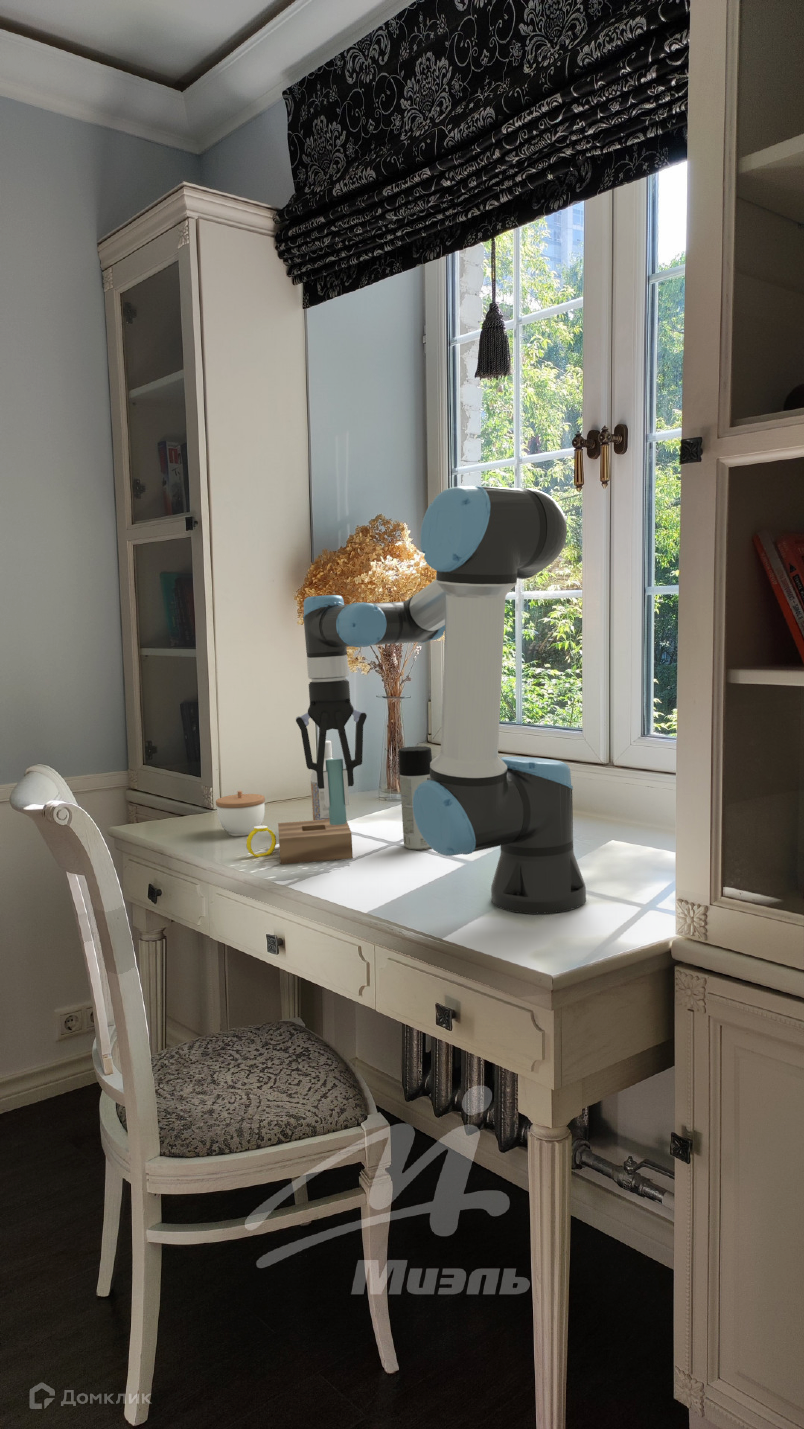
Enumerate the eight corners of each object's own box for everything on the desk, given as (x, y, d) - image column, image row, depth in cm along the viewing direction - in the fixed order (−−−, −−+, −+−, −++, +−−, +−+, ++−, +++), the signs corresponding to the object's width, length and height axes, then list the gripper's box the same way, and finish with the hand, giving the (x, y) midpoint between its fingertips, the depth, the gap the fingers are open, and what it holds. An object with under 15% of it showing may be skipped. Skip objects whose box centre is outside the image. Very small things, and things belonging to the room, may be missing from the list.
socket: (352, 858, 188) (351, 832, 188) (280, 864, 186) (278, 838, 186) (347, 841, 202) (345, 817, 201) (279, 846, 200) (278, 823, 200)
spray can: (433, 850, 191) (429, 750, 189) (400, 850, 192) (395, 751, 190) (439, 842, 197) (434, 745, 195) (406, 842, 199) (402, 746, 197)
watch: (271, 853, 197) (271, 824, 196) (278, 855, 194) (278, 826, 194) (244, 856, 193) (244, 827, 193) (251, 859, 191) (251, 829, 190)
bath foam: (321, 827, 216) (315, 739, 214) (350, 828, 214) (345, 739, 211) (308, 835, 209) (303, 743, 207) (338, 836, 207) (333, 743, 205)
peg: (347, 824, 180) (343, 760, 179) (330, 825, 180) (326, 761, 179) (345, 820, 183) (341, 758, 182) (329, 822, 183) (324, 759, 182)
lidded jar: (209, 837, 212) (206, 795, 211) (232, 826, 222) (230, 786, 221) (253, 839, 208) (250, 796, 207) (275, 827, 218) (272, 786, 217)
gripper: (369, 675, 184) (377, 797, 186) (284, 681, 182) (293, 804, 184) (373, 677, 176) (381, 804, 178) (285, 683, 174) (294, 811, 176)
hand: (337, 804), depth 181 cm, fingers closed on peg, 3 cm apart
